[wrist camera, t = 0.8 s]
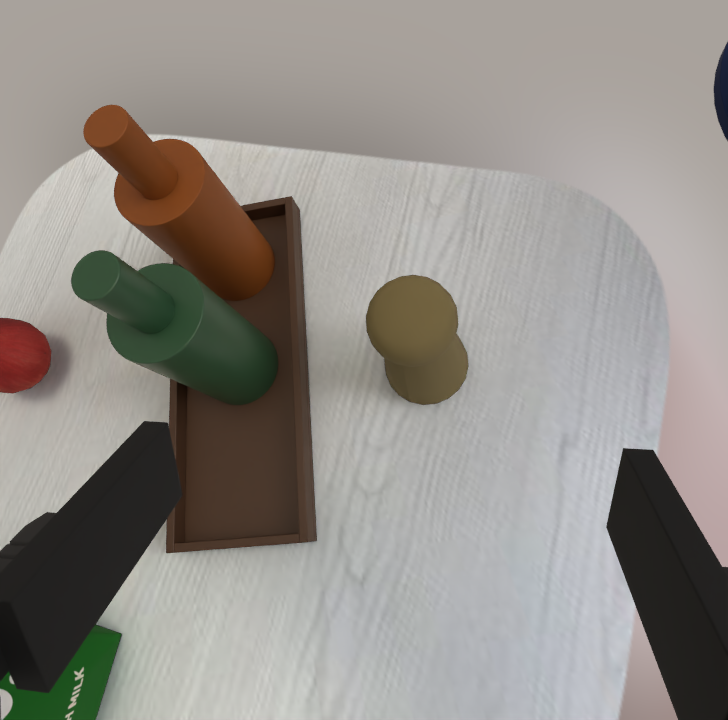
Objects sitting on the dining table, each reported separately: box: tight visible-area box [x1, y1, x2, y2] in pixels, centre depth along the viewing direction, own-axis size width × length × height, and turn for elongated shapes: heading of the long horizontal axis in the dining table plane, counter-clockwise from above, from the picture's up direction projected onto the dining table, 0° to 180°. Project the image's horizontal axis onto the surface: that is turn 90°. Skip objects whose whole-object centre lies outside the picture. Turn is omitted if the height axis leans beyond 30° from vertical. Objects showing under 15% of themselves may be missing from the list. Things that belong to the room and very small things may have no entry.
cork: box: [366, 275, 468, 405], centre depth 34 cm, size 6×6×11 cm
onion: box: [0, 318, 51, 393], centre depth 42 cm, size 6×6×8 cm
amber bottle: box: [84, 105, 275, 301], centre depth 36 cm, size 6×6×17 cm
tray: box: [166, 196, 317, 553], centre depth 41 cm, size 10×26×2 cm, turn 5°
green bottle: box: [71, 250, 278, 405], centre depth 34 cm, size 6×6×17 cm
